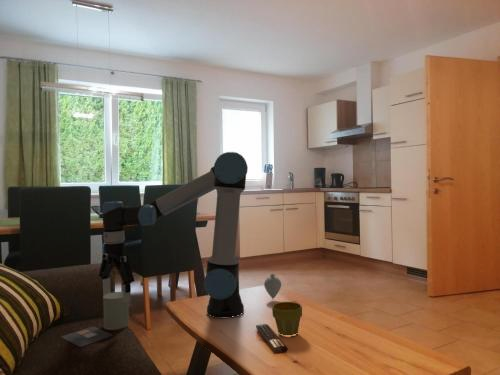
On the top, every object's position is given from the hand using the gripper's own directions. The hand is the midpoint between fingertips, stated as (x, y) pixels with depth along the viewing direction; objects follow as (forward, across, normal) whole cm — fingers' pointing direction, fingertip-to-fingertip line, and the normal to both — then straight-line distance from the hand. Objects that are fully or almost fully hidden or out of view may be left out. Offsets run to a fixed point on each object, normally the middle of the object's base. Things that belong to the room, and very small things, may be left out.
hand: (116, 298), depth 142 cm
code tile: (+10, 0, -12) cm, 16 cm away
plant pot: (+12, +56, +31) cm, 65 cm away
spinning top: (+12, +30, +59) cm, 67 cm away
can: (+10, 0, 0) cm, 11 cm away
